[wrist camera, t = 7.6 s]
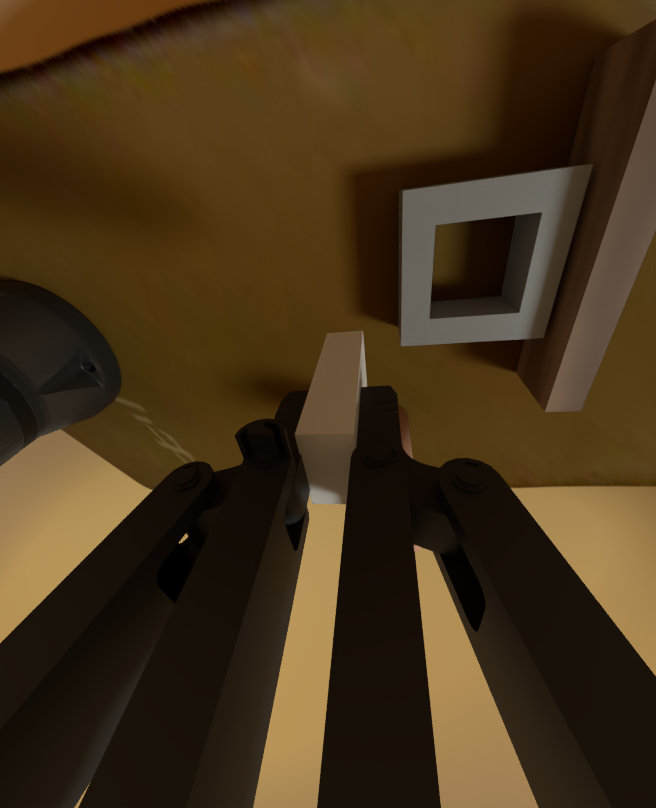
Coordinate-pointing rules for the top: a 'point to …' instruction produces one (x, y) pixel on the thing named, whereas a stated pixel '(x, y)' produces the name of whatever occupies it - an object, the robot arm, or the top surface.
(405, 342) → the grey square frame
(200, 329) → the top surface
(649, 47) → the wall
